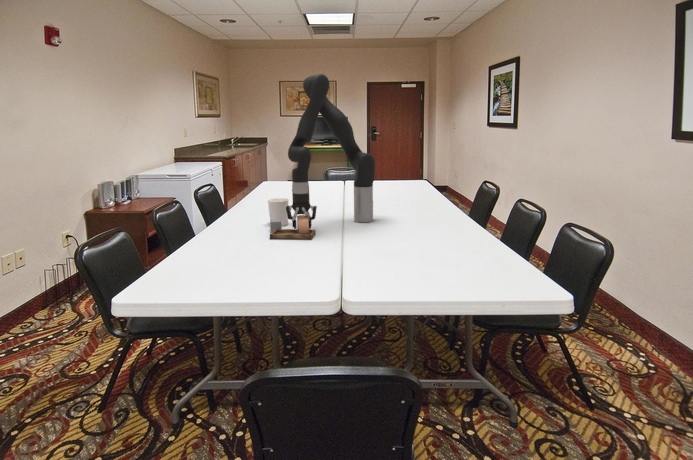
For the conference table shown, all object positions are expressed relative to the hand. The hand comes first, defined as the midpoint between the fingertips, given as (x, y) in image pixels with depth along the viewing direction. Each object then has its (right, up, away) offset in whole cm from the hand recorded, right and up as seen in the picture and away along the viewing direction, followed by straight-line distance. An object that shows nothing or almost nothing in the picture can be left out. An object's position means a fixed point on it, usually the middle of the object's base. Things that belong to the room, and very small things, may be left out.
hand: (302, 228), depth 215 cm
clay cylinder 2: (+2, -3, -10) cm, 10 cm away
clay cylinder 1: (0, -1, 0) cm, 1 cm away
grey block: (-12, -1, +1) cm, 12 cm away
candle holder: (-12, +2, +15) cm, 19 cm away
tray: (-3, -4, -9) cm, 10 cm away
